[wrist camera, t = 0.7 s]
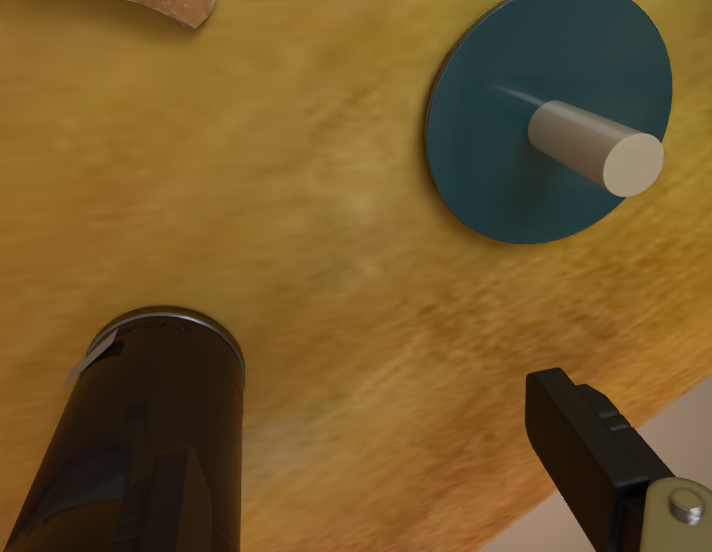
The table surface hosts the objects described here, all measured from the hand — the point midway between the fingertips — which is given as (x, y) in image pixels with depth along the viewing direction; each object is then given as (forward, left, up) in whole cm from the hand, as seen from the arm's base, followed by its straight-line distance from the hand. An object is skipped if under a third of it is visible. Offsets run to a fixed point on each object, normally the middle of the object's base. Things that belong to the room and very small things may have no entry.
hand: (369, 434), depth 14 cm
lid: (+3, -14, -20) cm, 24 cm away
